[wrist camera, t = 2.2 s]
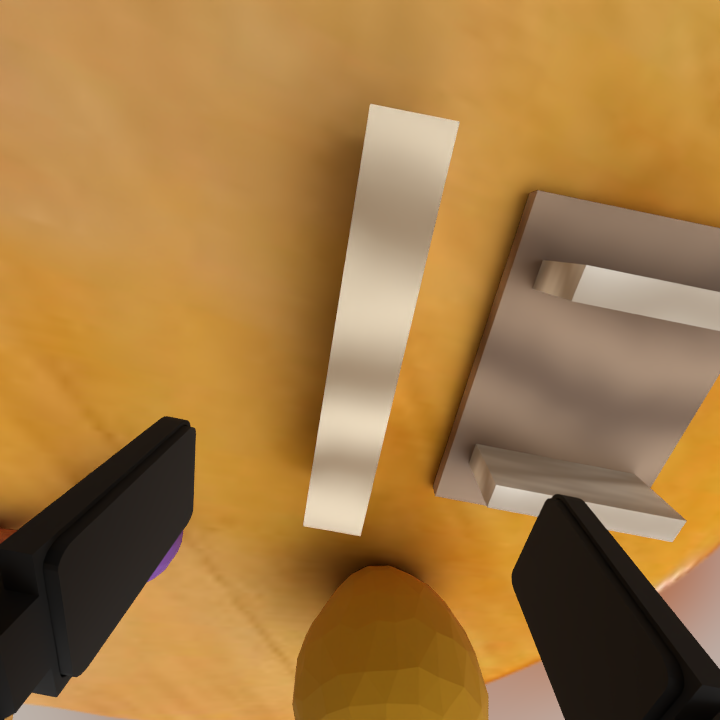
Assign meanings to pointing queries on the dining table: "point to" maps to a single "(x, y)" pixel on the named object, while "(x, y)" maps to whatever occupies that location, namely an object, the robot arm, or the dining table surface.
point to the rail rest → (589, 364)
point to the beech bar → (376, 306)
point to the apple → (387, 655)
